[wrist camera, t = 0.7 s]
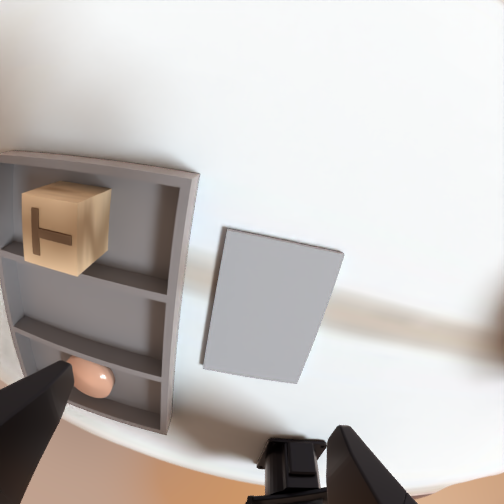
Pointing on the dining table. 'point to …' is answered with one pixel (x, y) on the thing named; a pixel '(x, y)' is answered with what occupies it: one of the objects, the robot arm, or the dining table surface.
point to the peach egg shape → (91, 377)
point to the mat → (268, 306)
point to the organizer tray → (104, 282)
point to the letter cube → (65, 225)
